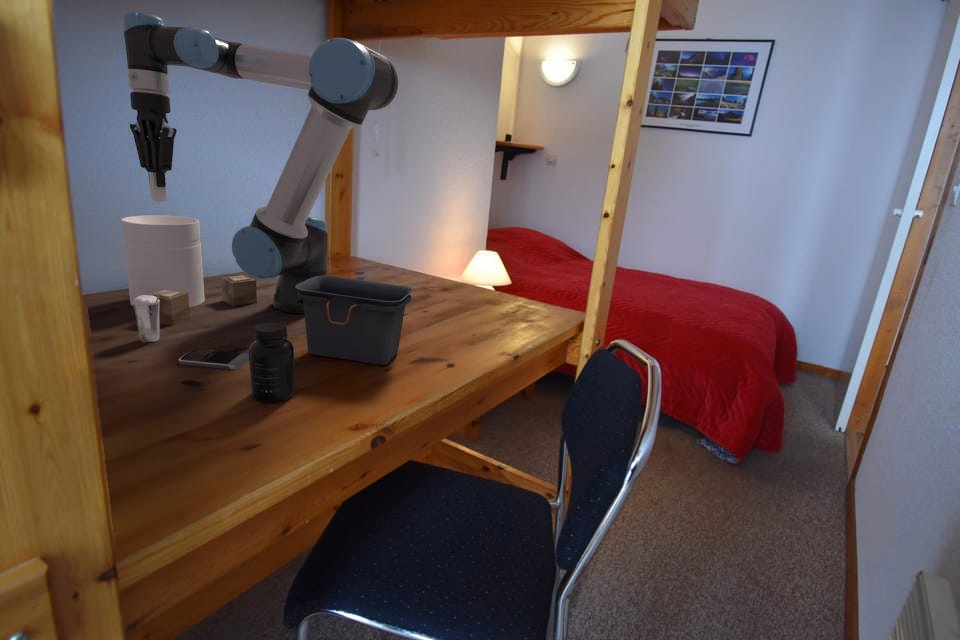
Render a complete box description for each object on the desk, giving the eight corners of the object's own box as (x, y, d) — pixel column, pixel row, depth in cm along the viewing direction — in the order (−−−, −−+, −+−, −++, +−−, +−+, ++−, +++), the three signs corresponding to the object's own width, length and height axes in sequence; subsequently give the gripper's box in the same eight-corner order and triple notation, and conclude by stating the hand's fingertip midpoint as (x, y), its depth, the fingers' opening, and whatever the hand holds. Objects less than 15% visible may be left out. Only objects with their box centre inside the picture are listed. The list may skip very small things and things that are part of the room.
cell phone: (194, 354, 103) (193, 348, 103) (251, 360, 103) (250, 353, 103) (175, 366, 97) (175, 359, 97) (236, 372, 97) (235, 365, 97)
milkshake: (154, 345, 104) (149, 296, 102) (131, 341, 105) (125, 292, 102) (172, 338, 109) (167, 291, 106) (149, 334, 110) (144, 287, 107)
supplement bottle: (258, 385, 92) (255, 319, 88) (299, 387, 93) (298, 321, 89) (244, 403, 85) (241, 332, 82) (288, 405, 86) (287, 334, 82)
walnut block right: (256, 302, 138) (256, 279, 136) (233, 306, 133) (232, 281, 131) (245, 297, 141) (244, 274, 139) (222, 300, 137) (221, 276, 135)
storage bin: (414, 350, 115) (417, 285, 110) (392, 377, 100) (395, 304, 96) (319, 337, 117) (319, 273, 113) (285, 362, 102) (283, 290, 98)
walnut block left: (190, 318, 122) (188, 291, 120) (173, 325, 116) (170, 297, 114) (165, 315, 122) (162, 288, 121) (147, 322, 117) (144, 294, 115)
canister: (116, 300, 130) (107, 217, 124) (181, 289, 143) (175, 214, 137) (153, 314, 122) (144, 226, 116) (218, 302, 135) (213, 222, 129)
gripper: (114, 89, 118) (125, 198, 125) (152, 91, 112) (161, 205, 119) (147, 94, 124) (156, 197, 131) (185, 96, 119) (192, 203, 126)
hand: (158, 200), depth 125 cm, fingers closed
